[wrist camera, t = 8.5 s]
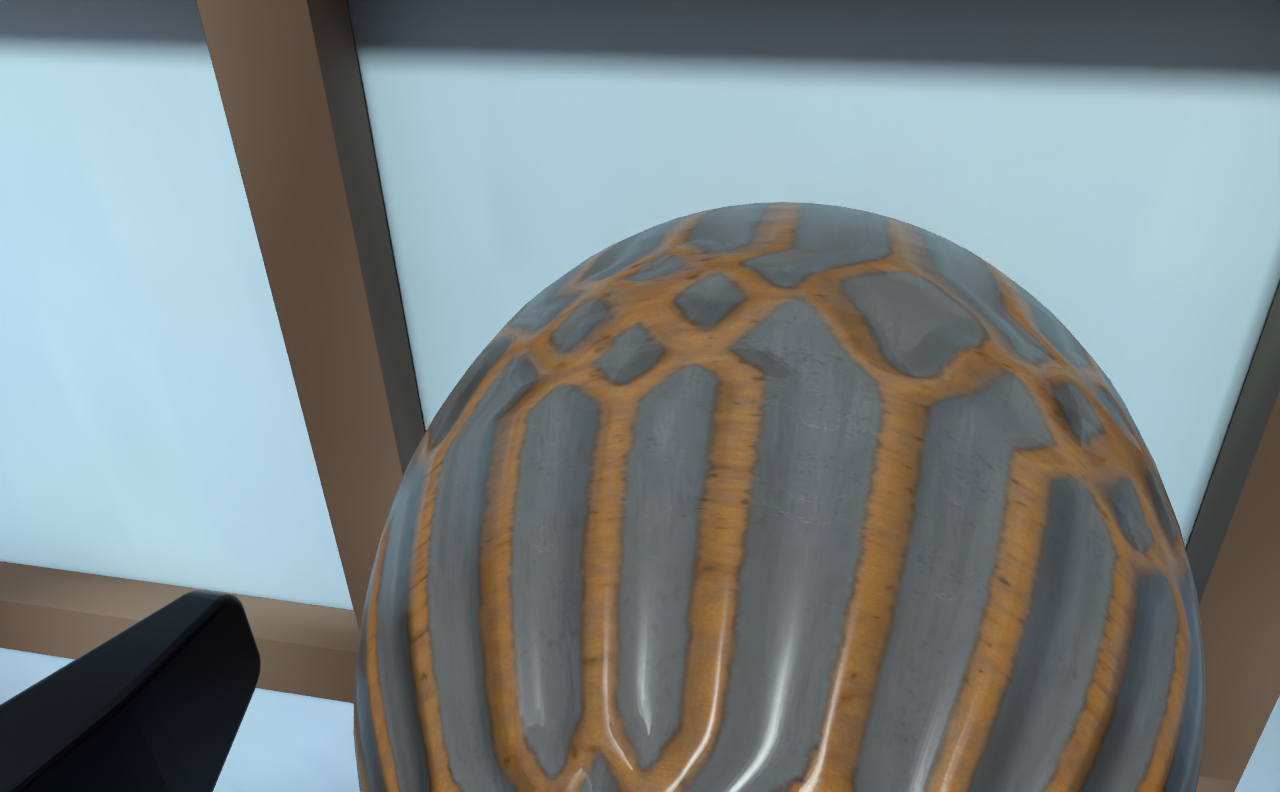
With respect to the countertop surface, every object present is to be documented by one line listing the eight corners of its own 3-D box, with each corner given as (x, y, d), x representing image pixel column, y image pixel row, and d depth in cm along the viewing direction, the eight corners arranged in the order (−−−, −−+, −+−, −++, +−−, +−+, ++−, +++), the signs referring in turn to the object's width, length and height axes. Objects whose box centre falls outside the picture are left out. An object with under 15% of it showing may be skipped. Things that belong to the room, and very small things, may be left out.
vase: (796, -43, 10) (496, 683, 2) (1252, 411, 11) (1862, 1656, 4) (419, 379, 13) (-131, 1151, 6) (800, 675, 15) (708, 1566, 8)
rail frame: (1628, -201, 8) (1703, -191, 7) (1198, 786, 14) (1214, 844, 14) (-626, -161, 12) (-722, -152, 11) (-156, 585, 19) (-198, 621, 18)
